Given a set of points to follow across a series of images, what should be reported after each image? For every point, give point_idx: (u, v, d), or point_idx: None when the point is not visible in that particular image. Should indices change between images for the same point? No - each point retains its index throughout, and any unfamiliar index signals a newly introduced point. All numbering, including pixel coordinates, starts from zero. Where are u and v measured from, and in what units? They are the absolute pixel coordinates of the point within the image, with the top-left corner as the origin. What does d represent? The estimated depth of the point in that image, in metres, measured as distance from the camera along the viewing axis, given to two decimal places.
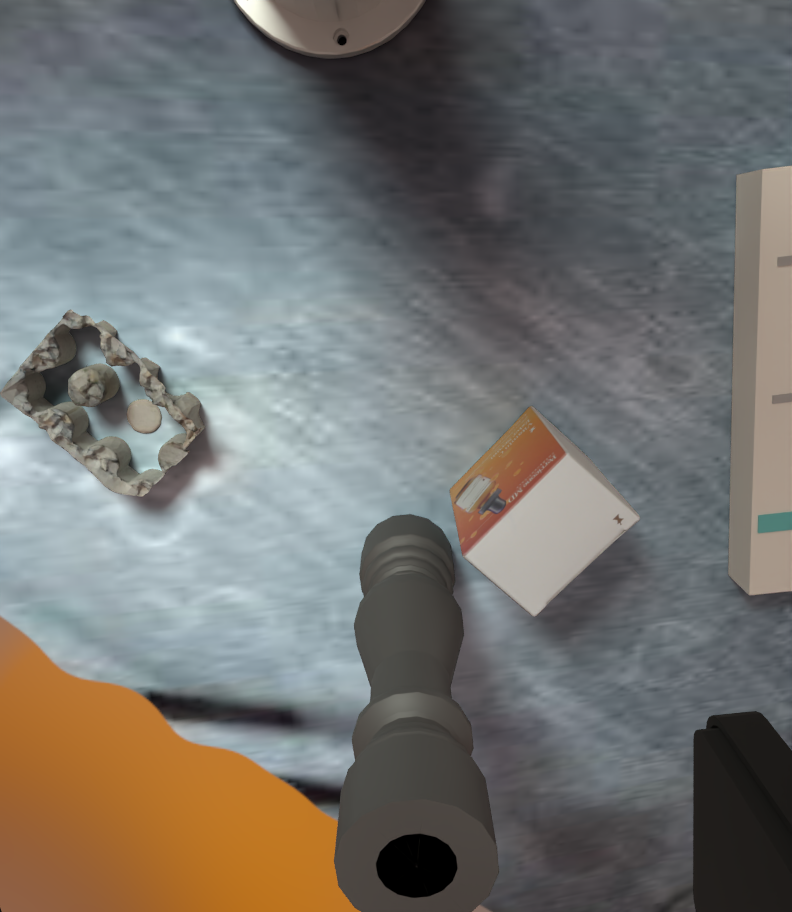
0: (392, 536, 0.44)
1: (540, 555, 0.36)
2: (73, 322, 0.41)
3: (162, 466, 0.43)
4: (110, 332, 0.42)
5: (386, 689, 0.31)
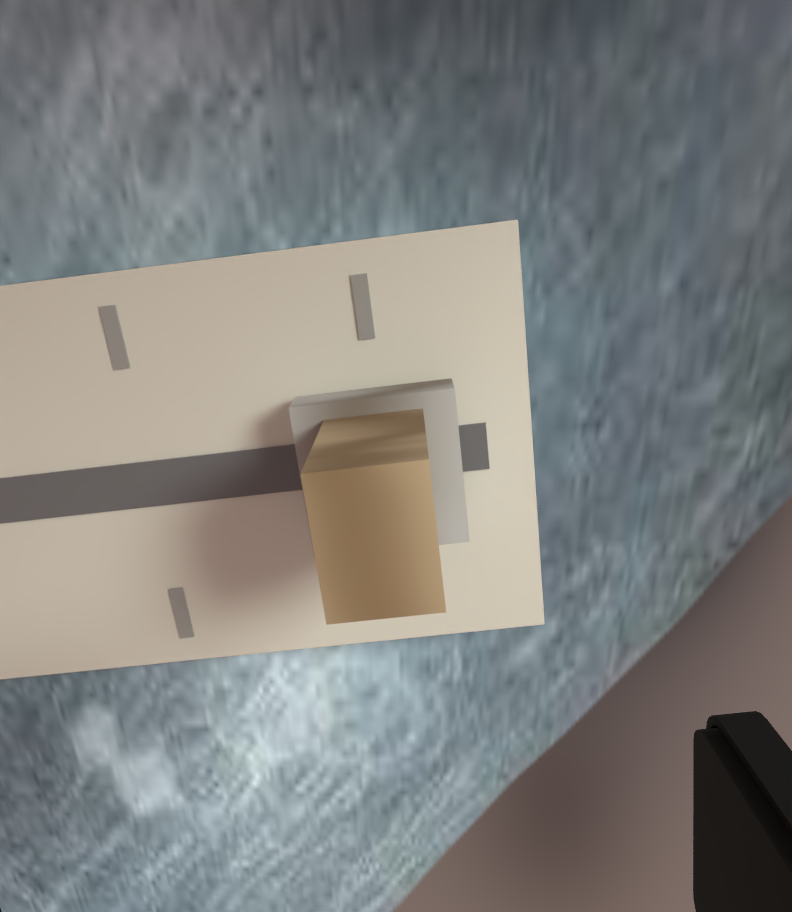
0: None
1: None
2: None
3: None
4: None
5: None
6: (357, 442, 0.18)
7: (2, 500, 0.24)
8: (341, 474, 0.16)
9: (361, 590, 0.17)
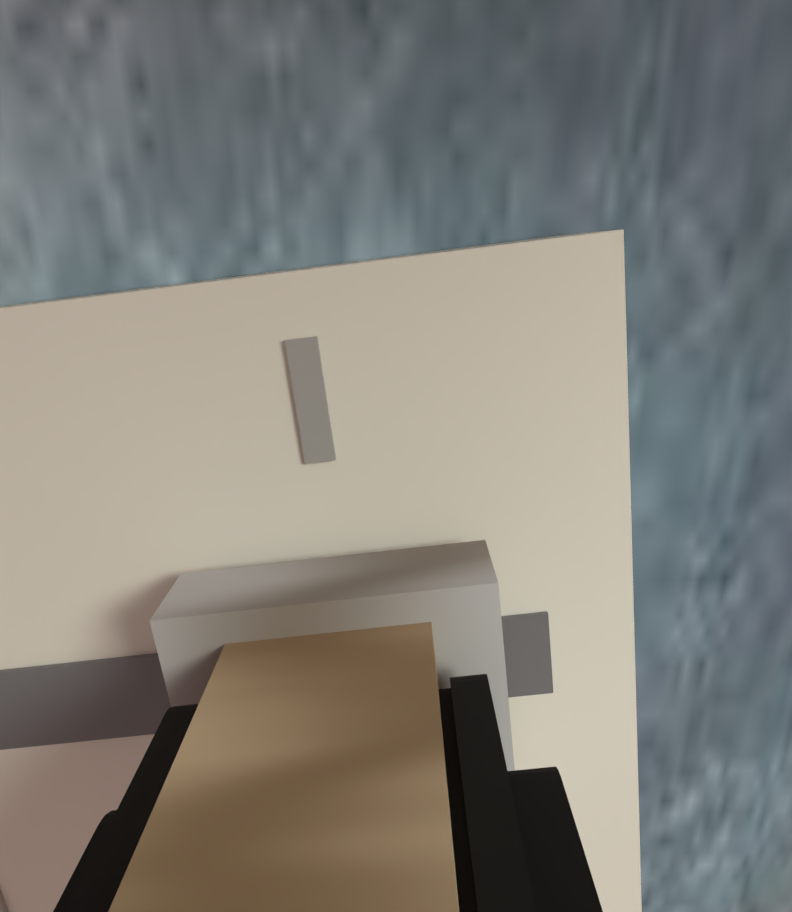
0: None
1: None
2: None
3: None
4: None
5: None
6: (273, 786, 0.07)
7: None
8: None
9: None
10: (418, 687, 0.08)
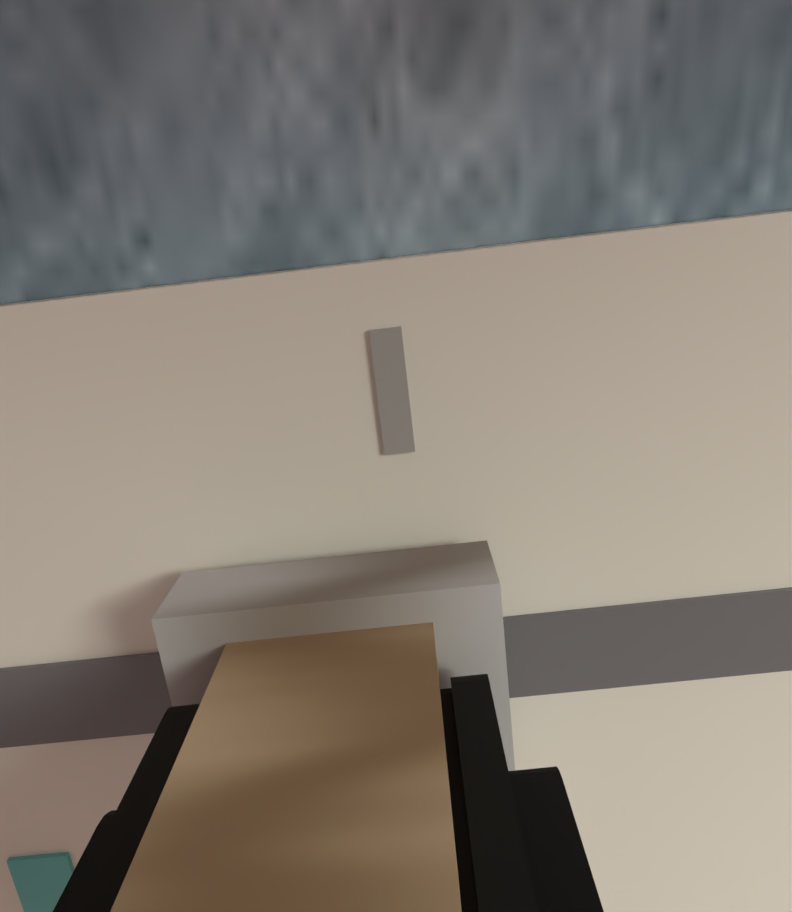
0: None
1: None
2: None
3: None
4: None
5: None
6: (275, 786, 0.07)
7: (139, 694, 0.12)
8: None
9: None
10: (420, 687, 0.08)
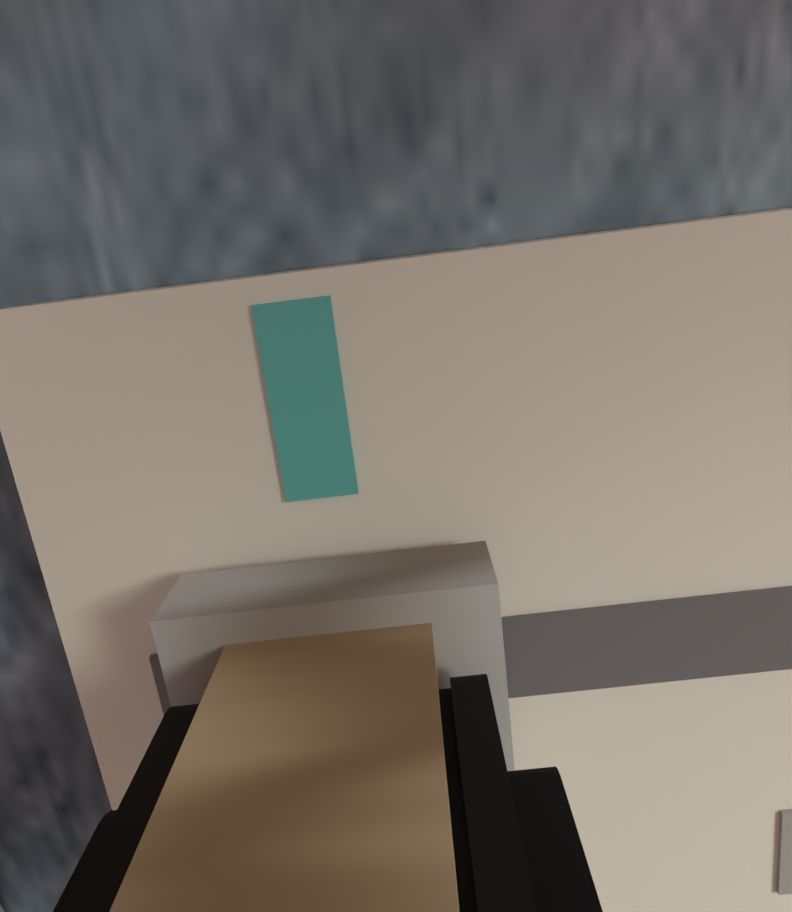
0: None
1: None
2: None
3: None
4: None
5: None
6: (272, 787, 0.07)
7: (509, 657, 0.12)
8: None
9: None
10: (418, 688, 0.08)
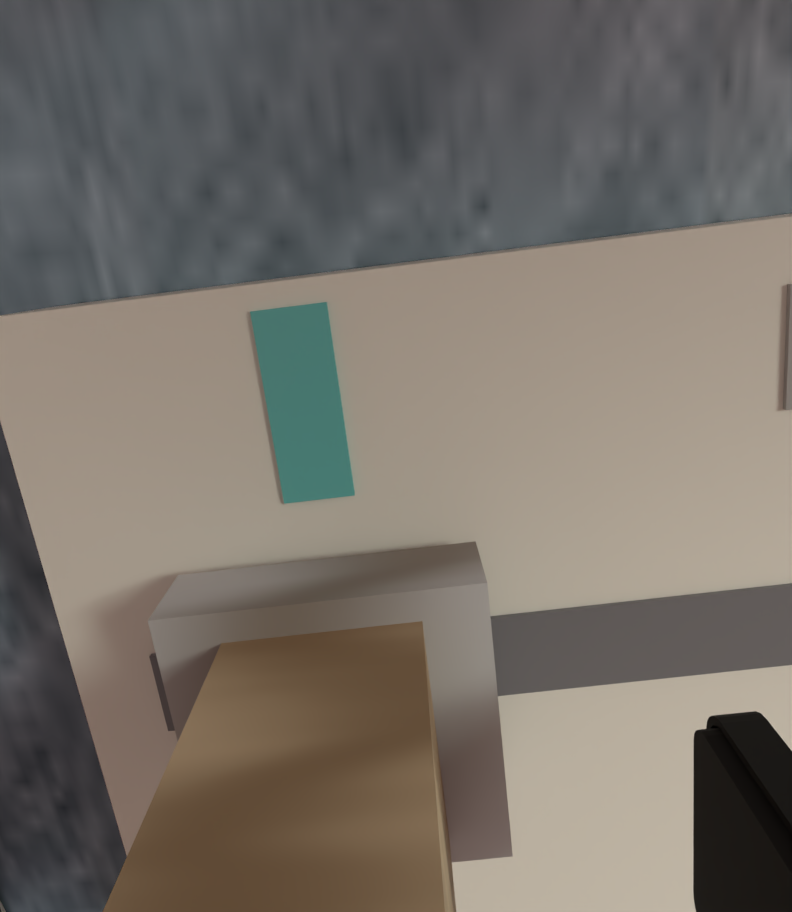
0: None
1: None
2: None
3: None
4: None
5: None
6: (266, 779, 0.07)
7: (502, 655, 0.13)
8: None
9: None
10: (408, 684, 0.09)
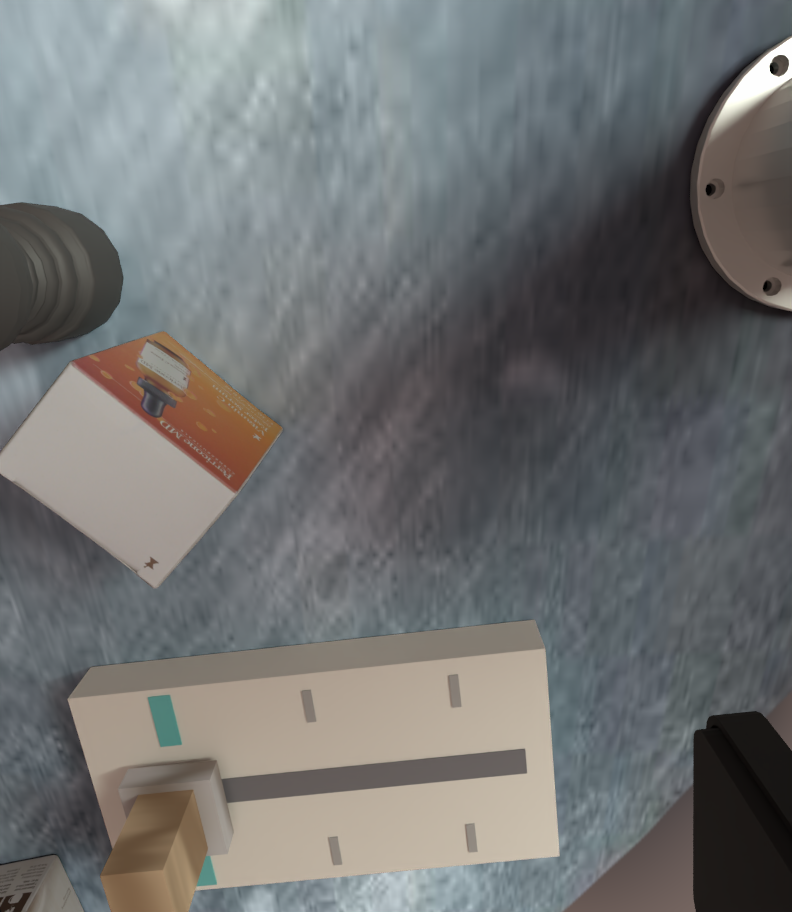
0: (87, 252, 0.31)
1: (86, 470, 0.26)
2: None
3: None
4: None
5: None
6: (140, 837, 0.34)
7: (232, 790, 0.39)
8: (120, 876, 0.32)
9: None
10: (180, 811, 0.36)
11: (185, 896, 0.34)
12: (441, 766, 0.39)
